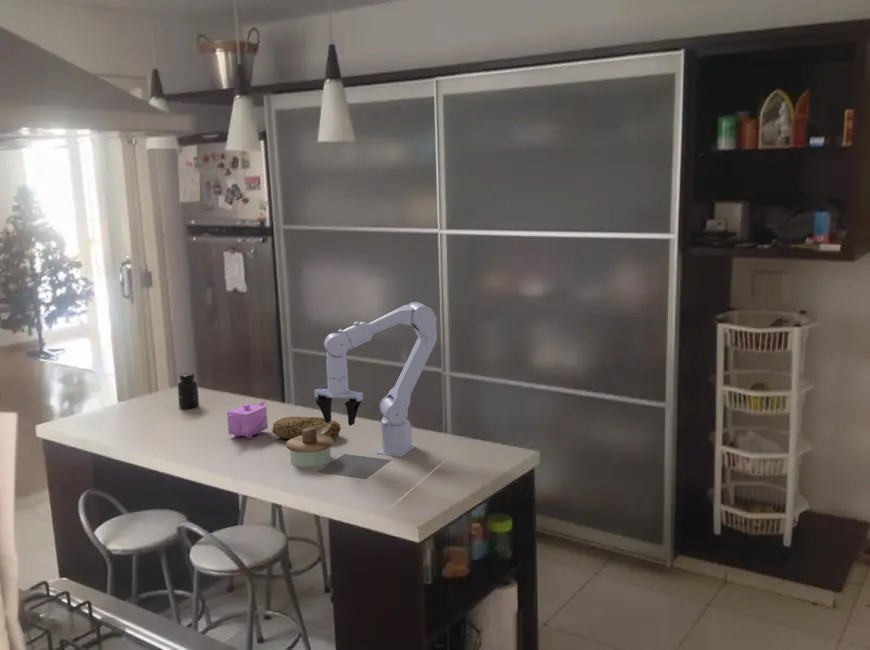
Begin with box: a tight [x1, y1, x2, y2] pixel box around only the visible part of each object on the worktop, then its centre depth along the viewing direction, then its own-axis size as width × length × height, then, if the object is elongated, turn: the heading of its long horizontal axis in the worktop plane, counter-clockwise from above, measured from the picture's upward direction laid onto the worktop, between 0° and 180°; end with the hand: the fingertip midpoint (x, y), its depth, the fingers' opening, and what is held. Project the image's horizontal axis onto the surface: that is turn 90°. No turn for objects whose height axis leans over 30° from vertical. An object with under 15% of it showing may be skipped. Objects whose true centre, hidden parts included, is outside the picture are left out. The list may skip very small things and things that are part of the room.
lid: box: [286, 428, 334, 452], centre depth 227 cm, size 13×13×4 cm
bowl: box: [289, 447, 332, 468], centre depth 228 cm, size 11×11×5 cm
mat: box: [316, 453, 392, 480], centre depth 223 cm, size 15×15×1 cm
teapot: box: [226, 400, 269, 440], centre depth 252 cm, size 18×13×10 cm
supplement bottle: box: [177, 372, 200, 410], centre depth 285 cm, size 7×7×12 cm
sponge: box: [271, 416, 342, 440], centre depth 248 cm, size 13×8×20 cm
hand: (339, 423), depth 228 cm, fingers open, 7 cm apart
